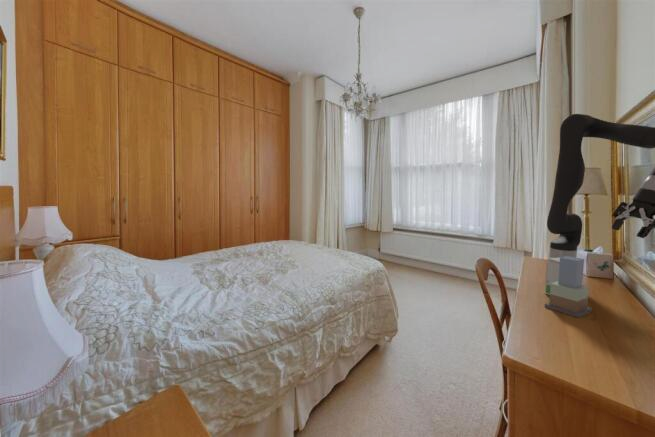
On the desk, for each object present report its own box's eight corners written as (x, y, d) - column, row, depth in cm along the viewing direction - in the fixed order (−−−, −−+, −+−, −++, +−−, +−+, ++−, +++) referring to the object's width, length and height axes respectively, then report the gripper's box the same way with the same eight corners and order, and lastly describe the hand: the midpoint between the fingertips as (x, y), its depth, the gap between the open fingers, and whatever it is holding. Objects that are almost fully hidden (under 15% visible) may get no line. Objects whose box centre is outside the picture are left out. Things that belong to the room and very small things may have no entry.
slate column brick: (558, 284, 99) (560, 257, 98) (564, 282, 101) (566, 256, 100) (575, 288, 95) (577, 260, 94) (582, 286, 97) (584, 259, 96)
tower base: (544, 306, 101) (546, 283, 100) (557, 301, 106) (559, 278, 105) (578, 317, 92) (580, 291, 91) (591, 311, 97) (593, 286, 96)
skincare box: (544, 293, 114) (546, 257, 112) (558, 292, 115) (560, 257, 113) (563, 301, 106) (566, 263, 104) (578, 300, 106) (581, 262, 105)
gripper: (623, 184, 99) (598, 224, 103) (670, 191, 85) (639, 236, 90) (641, 190, 99) (616, 230, 104) (691, 198, 86) (659, 243, 90)
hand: (626, 233), depth 97 cm, fingers open, 8 cm apart
